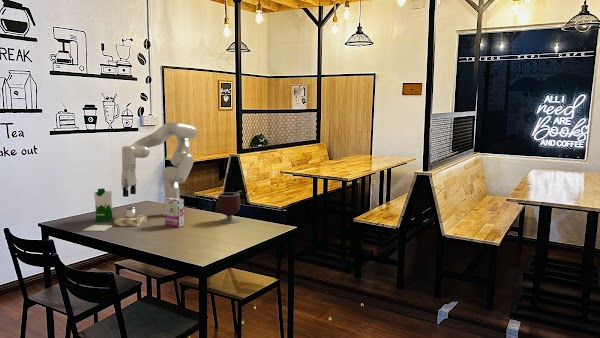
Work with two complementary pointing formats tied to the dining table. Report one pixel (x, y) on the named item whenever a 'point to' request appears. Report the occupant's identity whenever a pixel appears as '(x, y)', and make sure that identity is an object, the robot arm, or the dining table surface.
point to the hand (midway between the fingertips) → (129, 195)
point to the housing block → (130, 220)
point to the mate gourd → (229, 206)
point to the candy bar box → (174, 212)
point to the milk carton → (103, 205)
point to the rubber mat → (98, 228)
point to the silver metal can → (130, 212)
